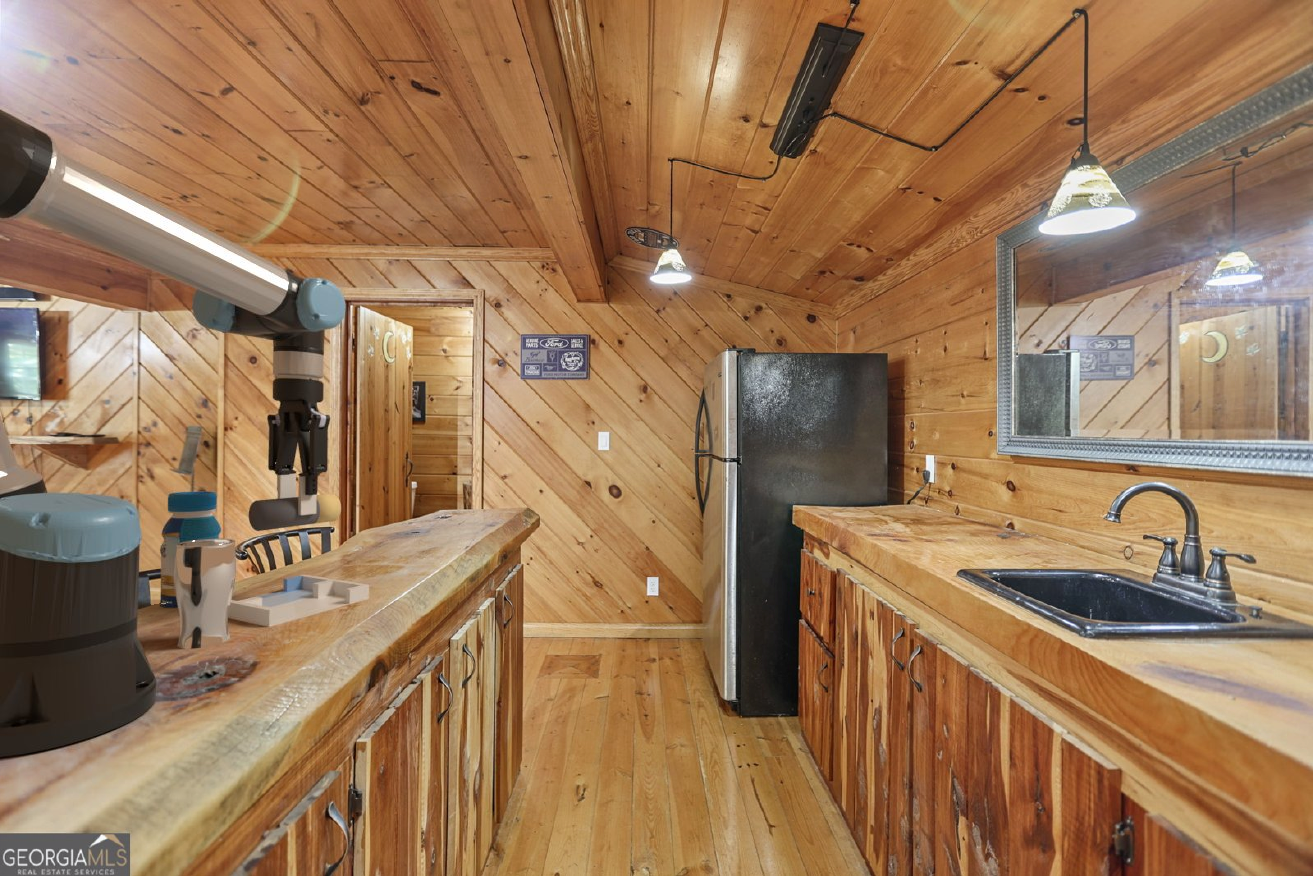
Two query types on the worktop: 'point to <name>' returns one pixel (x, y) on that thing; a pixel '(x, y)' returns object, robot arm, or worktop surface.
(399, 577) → the worktop surface
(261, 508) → the battery-shaped cylinder
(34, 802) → the worktop surface
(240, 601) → the beige holder tray
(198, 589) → the beer glass
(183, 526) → the beverage bottle
